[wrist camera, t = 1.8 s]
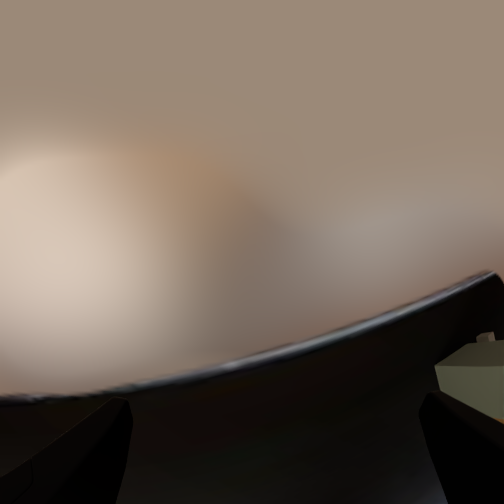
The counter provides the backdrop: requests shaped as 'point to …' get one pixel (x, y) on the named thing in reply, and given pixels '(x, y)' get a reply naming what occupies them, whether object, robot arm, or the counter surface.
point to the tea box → (475, 376)
